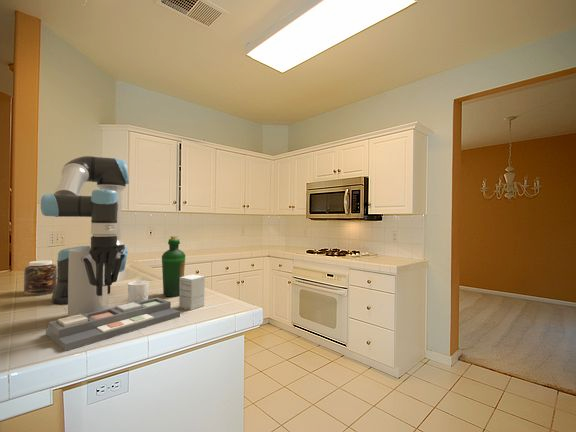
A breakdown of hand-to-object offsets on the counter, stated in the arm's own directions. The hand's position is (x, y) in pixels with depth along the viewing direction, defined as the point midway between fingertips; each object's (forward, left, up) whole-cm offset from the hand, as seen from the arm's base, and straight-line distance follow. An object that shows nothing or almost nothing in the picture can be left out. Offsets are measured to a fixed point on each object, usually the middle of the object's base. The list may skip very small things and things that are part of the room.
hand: (103, 304), depth 98 cm
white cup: (-13, +18, -8) cm, 23 cm away
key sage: (0, +17, -6) cm, 18 cm away
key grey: (0, +8, -4) cm, 9 cm away
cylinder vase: (-16, +1, -8) cm, 18 cm away
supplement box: (+4, +32, -8) cm, 33 cm away
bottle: (-18, +37, -8) cm, 42 cm away
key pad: (+2, +4, -8) cm, 9 cm away
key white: (0, -9, -4) cm, 10 cm away
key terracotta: (0, 0, -6) cm, 6 cm away
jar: (-69, -1, -8) cm, 69 cm away
